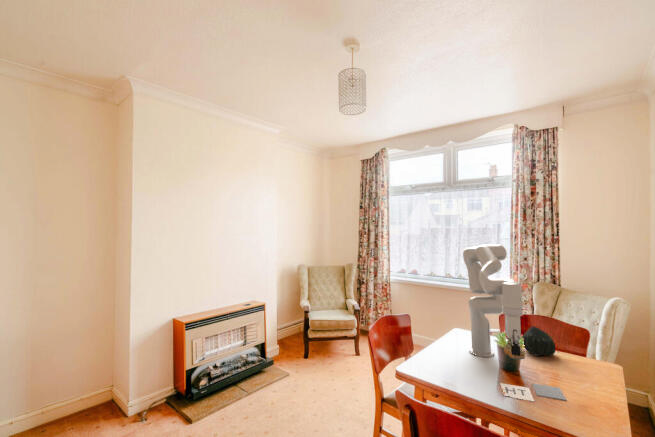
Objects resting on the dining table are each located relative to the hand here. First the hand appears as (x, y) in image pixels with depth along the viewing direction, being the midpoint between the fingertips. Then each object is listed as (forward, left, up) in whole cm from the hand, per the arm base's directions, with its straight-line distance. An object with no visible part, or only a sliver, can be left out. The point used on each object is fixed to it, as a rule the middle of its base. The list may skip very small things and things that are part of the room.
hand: (514, 350), depth 129 cm
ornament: (0, 0, -3) cm, 3 cm away
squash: (-49, +18, -18) cm, 55 cm away
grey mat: (-5, +13, -18) cm, 22 cm away
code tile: (0, 0, -18) cm, 18 cm away
